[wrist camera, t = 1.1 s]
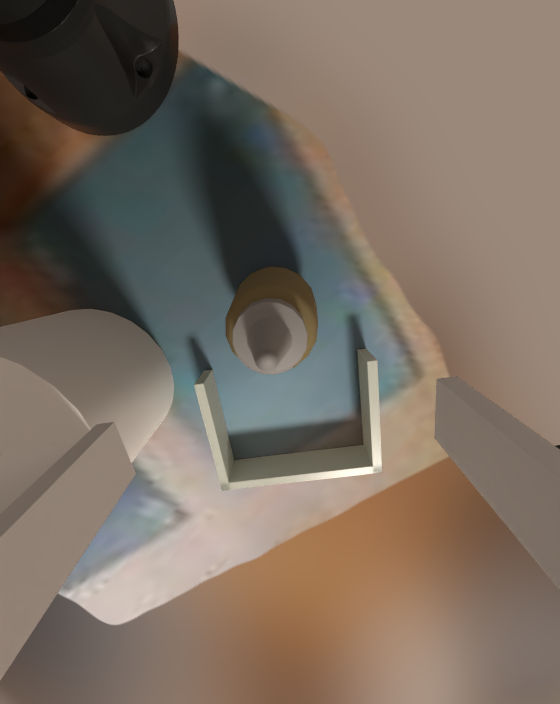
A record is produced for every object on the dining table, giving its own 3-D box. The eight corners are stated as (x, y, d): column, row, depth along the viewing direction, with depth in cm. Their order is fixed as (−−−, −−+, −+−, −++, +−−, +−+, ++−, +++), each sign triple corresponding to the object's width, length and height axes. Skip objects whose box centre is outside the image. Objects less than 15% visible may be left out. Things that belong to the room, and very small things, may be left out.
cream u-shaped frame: (204, 370, 33) (194, 384, 29) (366, 348, 32) (377, 360, 28) (228, 466, 37) (222, 490, 34) (371, 450, 36) (382, 472, 33)
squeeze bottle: (267, 248, 29) (245, 232, 12) (327, 296, 30) (386, 344, 13) (224, 311, 31) (152, 375, 14) (282, 353, 32) (283, 457, 15)
